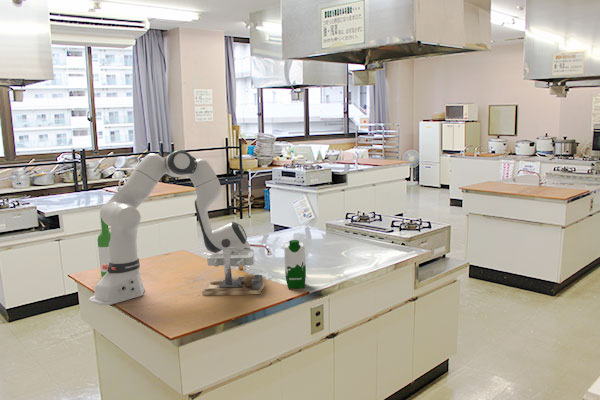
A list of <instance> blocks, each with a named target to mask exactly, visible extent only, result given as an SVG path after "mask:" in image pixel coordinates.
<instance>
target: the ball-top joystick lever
mask: <svg viewBox="0 0 600 400" xmlns="http://www.w3.org/2000/svg"><path fill="white" fill-rule="evenodd" d="M230 244H231V242H230V240H229V239H223V240H222V242H221V245H222V246H223V250H222V254H223V258H224V266H223V269H224V280H222V281H223V282H222V283H221V284H220V285H219V287H220V288H242V287H243V286H244V281H245V277H244V276H243V277H241V276H239V277H238V278H237V279H233V276H232V275H233V274H232V266H231V260H230Z"/></svg>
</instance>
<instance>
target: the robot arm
mask: <svg viewBox="0 0 600 400" xmlns="http://www.w3.org/2000/svg"><path fill="white" fill-rule="evenodd" d="M163 176H164V177H168V178H172V179H179V178H181V177H184V176H186V177H187V178H189V179H190V181H191V182H192V184H193V187H194V189H195V192H196V199H195V200H194V208H195V213H196V216H197V220H198V223H199V227H200V228H201V229H200V231H201V233H202V238H203V243H204V246H205V248H206V250H207V251H208V252H210V253H212V254H210V255H209V256H208V257H207V259H206V260H207V262H206V263H207V265H208V266H211V267H212V266H213V267H216V268H218V267H220V266H221V267H222V266H223V267H224V258H223V253H219V252H221V251H223V246H222V245H221V242H222V240H223V239H229V240H230V242H231V244H230V260H231V267H233V268H234V267H241V266H253V265H255V250H254V248H251V245H250V243H249V240H247V239H248V236H247V233H246V231H245V229H244V228H243V226H242V225H241V224H239V223H238V222H235V221H231V222H229V223H227V224H225V225H222V226H221V227H218V228H216V229H213V228H212V225H211V224H212V223H211V222H210V217H209V214H208V212H209V209H210V207H211V206H212V204H214V203H215V202H216V201H217V200H218V198H219V197H220V195H221V193H222V186H221V183H220V180H219V178H218V177H217V174H216V172H215V170H214V169H213V167H212V166H211V165H210V163H209V162H208V160H207V159H205V158H195V157H194V156H193V155H191V154H190V153H189V152H187V151H186V150H183V149H177V150H174V151H173V152H171V153H169V154H168V155H167V156H164V157H163V156H161V155H159V154H157V153H153V152H152V153H148V154H146V155H145V156H144V157H143V158H142V160H140V162H139V163H138V164H137V165H136V167H135V168H134V169H133V171H132V172H131V174H130V175H129V176H128V178H127V179H126V181H125V183H123V185H122V186H121V187H120V189H119V190H117V192H115V194H114V195H113V196H112V197H111V198H110V199H108V201H107V202H105V203H104V204H103V205H102V206H101V208H100V211H99V215H100V216H101V217H100V216H99V217H100V219H101V218H102V220H103V221H104V223H106V224H107V225H108V227H110V232H111V237H110V242H109V254H110V263H109V266H108V265H105V264H103V265H102V269H105V270H107V269H108V270H107V271H108V272H107V273H106V274H105V275H104V276H103V278H102V277H101V279H100V280H99V281H97V283H96V284H95V285H94V295H92V296H90V297H89V302H90V303H92V304H94V305H99V306H111V305H115V304H118V303H121V302H124V301H128V300H131V299H135V298H139V297H142V296H144V292H145V291H146V289H145V286H144V284H143V280H142V277H141V271H140V267H141V265H140V259H139V257H138V245H137V240H138V239H137V238H138V230H139V229H138V228H139V224H140V222H141V218H142V217H141V216H142V215H141V213H140V211H139V210H138V209H137V208H138V207H139V206H140V205H141V204H143V203H144V202H145V201H147V199H148V198H149V197H150V196H151V194H152V192H153V190H155V187H156V186H157V184H158V183H159V181H160V180H161V178H163ZM213 253H214V254H213Z"/></svg>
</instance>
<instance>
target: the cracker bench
mask: <svg viewBox="0 0 600 400" xmlns="http://www.w3.org/2000/svg"><path fill="white" fill-rule="evenodd" d="M222 282H223V280H222V281H210V283H209V284H208V285H206V287H205V288H204V289H203V290H202V292H201V293H202V296H241V295H244V296H246V295H247V296H250V295H249V294H260V295H261V293H262V292H263V290H262V289H264V288H265V283H263V275H262V274H254V276H253V278H252V279H251V278H246V279H244V286H243V287H242V288H220V287H219V285H220V284H221V283H222ZM261 291H262V292H261Z"/></svg>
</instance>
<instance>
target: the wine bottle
mask: <svg viewBox="0 0 600 400" xmlns="http://www.w3.org/2000/svg"><path fill="white" fill-rule="evenodd" d="M99 217H100V224H101V225H100V226H101V232H100V233H99V235H98V236H97V248H98V257H99V258H98V259H99V260H98V261H99V267H100V276H101V279H102V278H103V276H104V275H105V274H106V273H107V272H108V271H107V270H108V269H107V270H105V269H102V265H103V264H105V265H108V266H109V263H110V254H109V242H110V237H111V231H110V229H109V225H107V224H106V223H104V221H103V220H102V218H101V216H99Z"/></svg>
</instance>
